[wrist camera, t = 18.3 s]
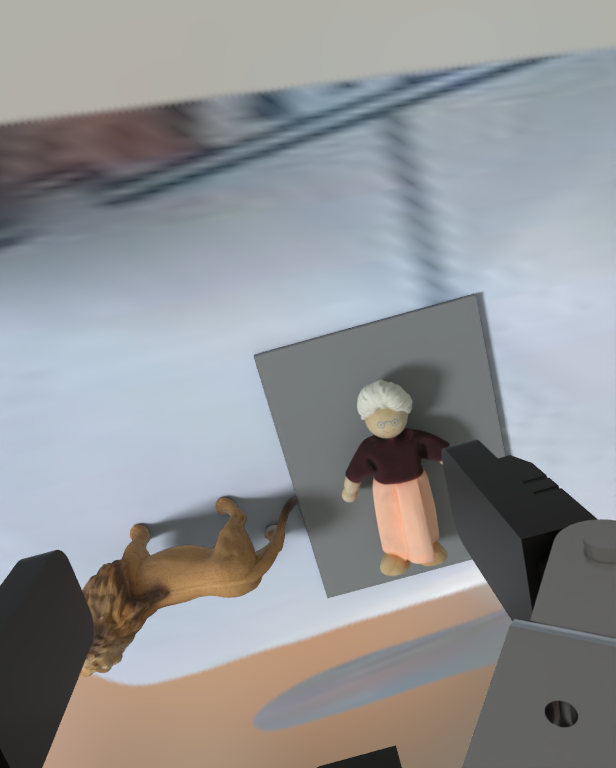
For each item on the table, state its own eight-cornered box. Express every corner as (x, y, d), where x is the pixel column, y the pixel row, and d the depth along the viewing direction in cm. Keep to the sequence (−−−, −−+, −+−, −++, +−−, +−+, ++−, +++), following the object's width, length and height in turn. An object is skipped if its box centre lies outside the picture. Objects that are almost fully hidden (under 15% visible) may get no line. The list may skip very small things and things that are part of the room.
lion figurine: (119, 605, 39) (74, 714, 30) (80, 544, 37) (21, 640, 29) (311, 524, 38) (322, 612, 29) (279, 458, 36) (280, 530, 28)
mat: (327, 593, 39) (327, 598, 39) (253, 354, 34) (253, 356, 34) (518, 542, 39) (521, 546, 39) (473, 294, 34) (475, 295, 34)
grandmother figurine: (376, 595, 34) (325, 411, 30) (358, 560, 38) (310, 392, 34) (488, 551, 35) (453, 368, 31) (459, 521, 39) (425, 354, 35)
